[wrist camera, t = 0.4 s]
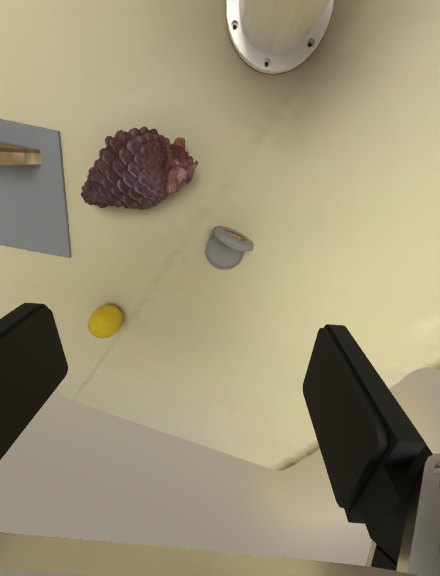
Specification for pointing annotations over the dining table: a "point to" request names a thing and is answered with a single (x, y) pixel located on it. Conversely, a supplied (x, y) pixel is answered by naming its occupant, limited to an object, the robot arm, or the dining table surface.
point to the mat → (34, 193)
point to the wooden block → (18, 155)
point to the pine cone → (137, 170)
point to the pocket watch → (227, 248)
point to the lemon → (105, 321)
